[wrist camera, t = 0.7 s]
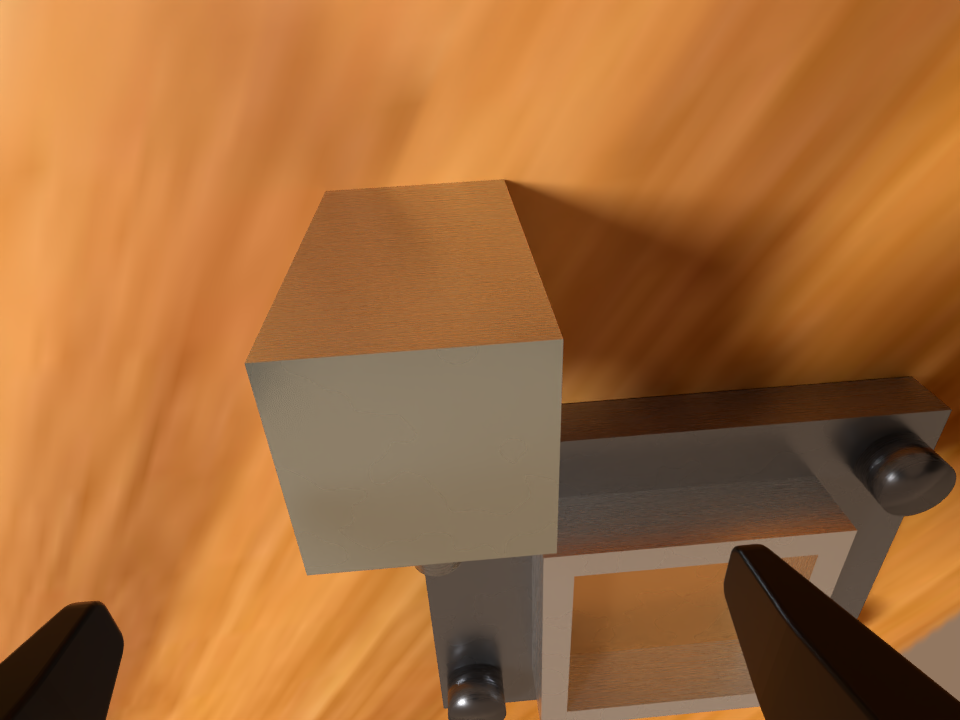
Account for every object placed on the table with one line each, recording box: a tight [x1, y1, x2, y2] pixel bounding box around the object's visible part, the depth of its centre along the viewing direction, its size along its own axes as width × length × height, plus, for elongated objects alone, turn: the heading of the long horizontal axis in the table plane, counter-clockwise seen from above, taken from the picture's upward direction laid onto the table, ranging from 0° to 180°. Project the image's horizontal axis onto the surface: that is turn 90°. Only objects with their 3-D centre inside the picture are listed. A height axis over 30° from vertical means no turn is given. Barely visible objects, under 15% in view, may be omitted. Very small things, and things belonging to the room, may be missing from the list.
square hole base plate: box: [425, 377, 956, 720], centre depth 24 cm, size 18×15×4 cm
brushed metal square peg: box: [245, 179, 563, 576], centre depth 15 cm, size 5×6×9 cm
